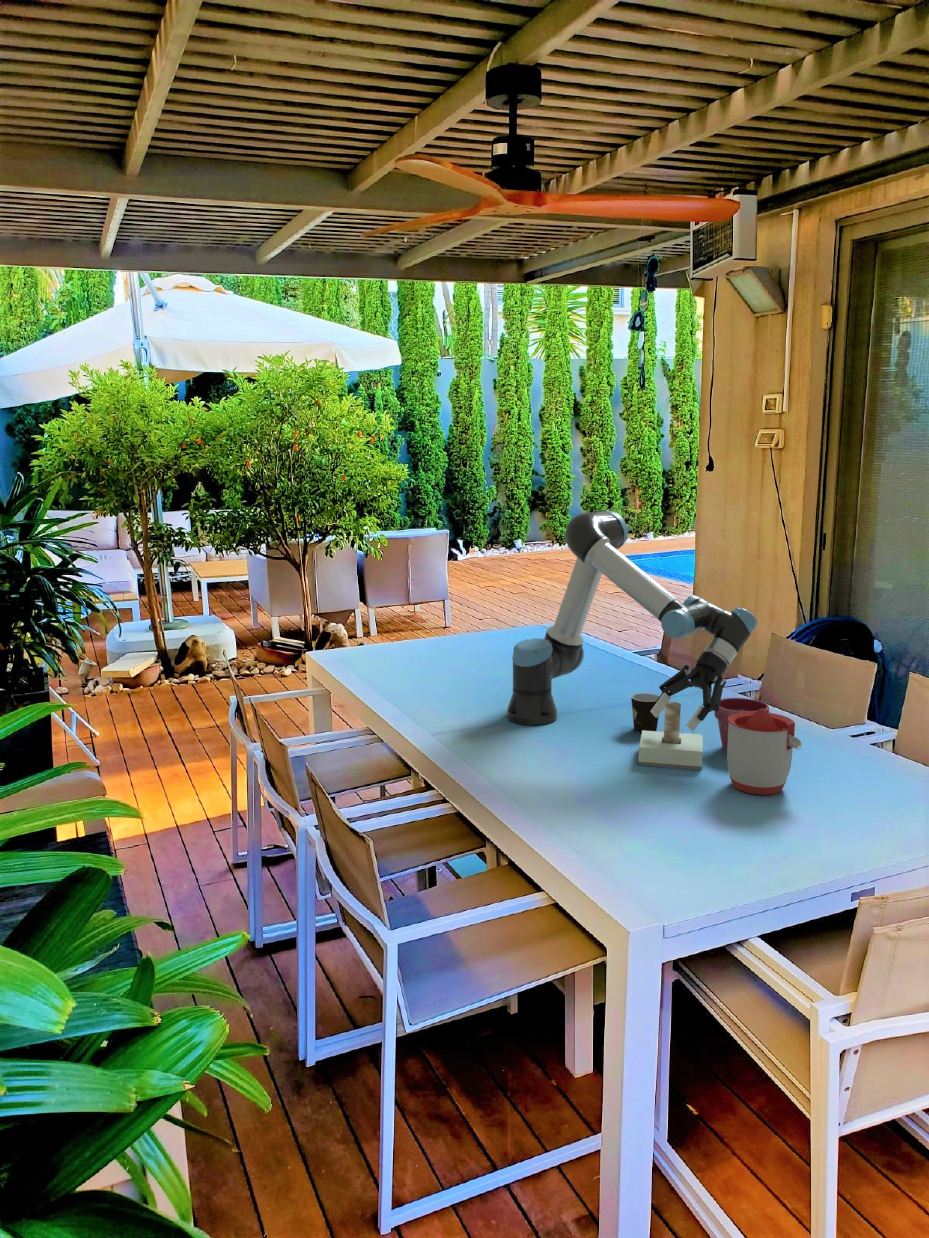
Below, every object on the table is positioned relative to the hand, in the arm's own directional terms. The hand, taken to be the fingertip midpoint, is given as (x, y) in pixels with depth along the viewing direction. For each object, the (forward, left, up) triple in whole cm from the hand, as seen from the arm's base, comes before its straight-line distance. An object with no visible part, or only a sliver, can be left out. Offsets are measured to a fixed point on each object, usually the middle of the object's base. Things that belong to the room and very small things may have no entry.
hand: (671, 721), depth 249 cm
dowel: (0, +1, -9) cm, 9 cm away
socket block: (0, +1, -10) cm, 10 cm away
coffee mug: (-8, +25, -11) cm, 28 cm away
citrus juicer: (+22, -15, -11) cm, 29 cm away
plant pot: (+18, +13, -11) cm, 25 cm away
